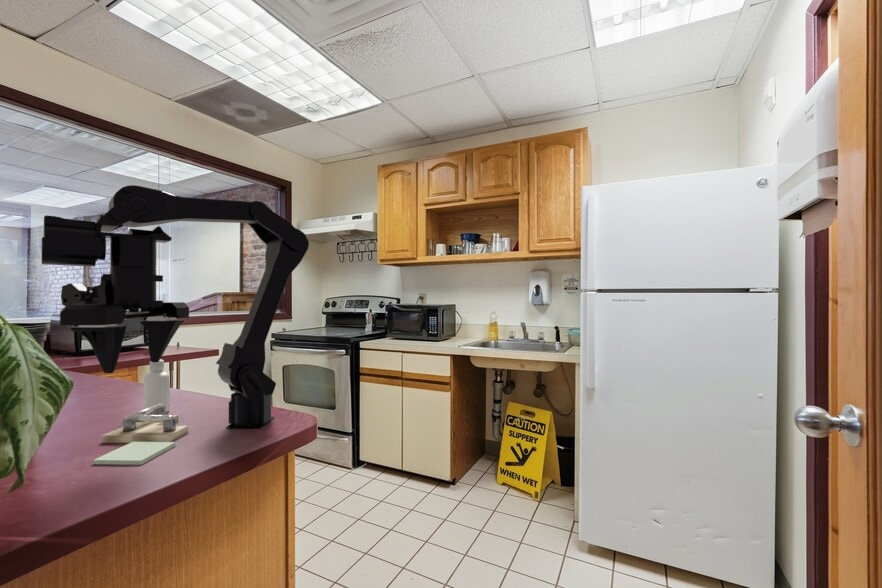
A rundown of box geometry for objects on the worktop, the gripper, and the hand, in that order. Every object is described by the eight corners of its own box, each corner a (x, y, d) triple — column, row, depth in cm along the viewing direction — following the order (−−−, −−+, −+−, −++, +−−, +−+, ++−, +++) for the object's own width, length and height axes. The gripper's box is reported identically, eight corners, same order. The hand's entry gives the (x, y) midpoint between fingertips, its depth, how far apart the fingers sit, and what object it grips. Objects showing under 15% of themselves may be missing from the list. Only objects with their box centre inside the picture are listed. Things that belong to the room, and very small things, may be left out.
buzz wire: (209, 421, 75) (209, 401, 75) (167, 443, 64) (167, 420, 64) (152, 420, 75) (152, 401, 75) (102, 442, 64) (102, 419, 64)
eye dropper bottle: (169, 406, 85) (169, 351, 85) (170, 413, 80) (170, 354, 80) (143, 410, 82) (144, 353, 82) (143, 417, 78) (143, 357, 78)
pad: (175, 445, 63) (175, 442, 63) (141, 464, 56) (141, 460, 56) (132, 445, 63) (132, 441, 63) (93, 464, 56) (93, 460, 56)
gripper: (129, 271, 71) (129, 357, 71) (18, 263, 52) (18, 380, 52) (191, 271, 71) (190, 357, 71) (102, 263, 52) (101, 380, 52)
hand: (133, 367), depth 61 cm, fingers open, 9 cm apart
